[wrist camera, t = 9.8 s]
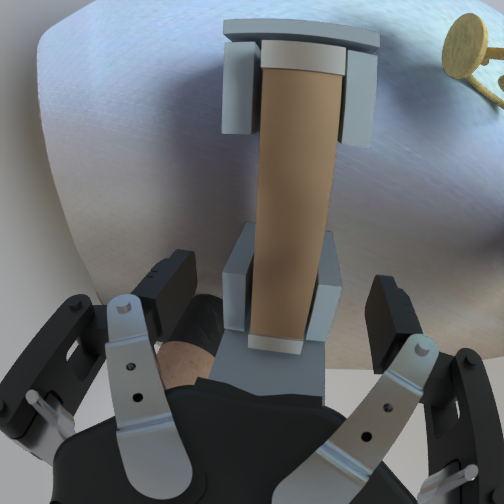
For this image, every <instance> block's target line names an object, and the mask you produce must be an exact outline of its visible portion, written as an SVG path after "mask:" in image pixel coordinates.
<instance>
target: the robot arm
mask: <svg viewBox="0 0 504 504" xmlns="http://www.w3.org/2000/svg"><path fill="white" fill-rule="evenodd" d="M196 288H197V273H196V262H195V254H194V252H193V251H187V250H180V249H177V250H176V251H175V252H174V253H173V254H172V255H171V257H170V258H169V259H166V258H165V259H164V260H162V261H160V262H158V263H157V264H156V265H155V266H154V267H153V268H152V269H151V272H149V273H148V274H147V275H146V277H144V278H143V280H142V281H141V282H140V283H139V284H138V285H137V287H136V288H135V289H134V290H133V291H132V293H131V294H123V295H119V296H117V297H115V298H113V299H112V300H111V301H110V302H109V303H108V305H92V302H91V300H90V298H89V297H88V296H87V295H84V294H78V295H74V296H72V297H70V298H68V299H67V300H66V301H65V302H64V303H63V304H62V305H61V306H60V307H59V308H58V309H57V311H56V312H55V313H54V314H53V315H52V316H51V318H50V319H49V320H48V321H47V322H46V323H45V325H44V326H43V327H42V328H41V329H40V331H39V332H38V333H37V334H36V336H35V337H34V338H33V339H32V341H31V342H30V343H29V345H28V346H27V347H26V348H25V350H24V351H23V352H22V354H21V355H20V356H19V358H18V359H17V360H16V362H15V363H14V365H13V366H12V367H11V369H10V370H9V372H8V373H7V374H6V376H5V377H4V379H3V380H2V382H1V383H0V430H1V431H2V432H3V433H4V434H5V435H6V436H7V437H8V438H9V439H11V440H12V441H13V442H15V443H16V444H17V445H19V446H20V447H21V448H23V449H24V450H25V451H28V452H30V453H31V454H33V455H34V456H36V457H37V458H38V459H41V460H44V461H45V462H47V463H48V464H50V465H51V466H52V467H53V492H52V498H51V501H50V504H504V439H503V433H502V428H501V423H500V419H499V414H498V411H497V407H496V402H495V399H494V395H493V392H492V388H491V385H490V382H489V379H488V376H487V373H486V370H485V367H484V364H483V361H482V359H481V357H480V356H479V355H478V354H477V353H476V352H475V351H474V350H472V349H469V348H462V349H460V350H459V351H458V352H457V354H456V355H455V356H452V355H448V354H445V353H442V352H439V349H438V346H437V344H436V343H435V342H434V340H432V339H431V338H430V337H428V336H426V335H424V334H423V332H422V329H421V326H420V323H419V321H418V318H417V315H416V313H415V310H414V308H413V306H412V303H411V300H410V298H409V296H408V295H407V294H406V293H405V292H404V291H403V289H399V288H398V287H397V285H396V282H395V280H394V278H393V277H392V276H385V275H376V276H375V278H374V281H373V284H372V287H371V290H370V293H369V296H368V299H367V302H366V306H365V320H366V325H367V331H368V337H369V343H370V349H371V356H372V363H373V370H374V374H383V375H382V376H381V378H380V379H379V380H378V382H377V383H376V384H375V386H374V387H373V388H372V389H371V391H370V392H369V393H368V395H367V396H366V397H365V399H364V400H363V401H362V402H361V403H360V404H359V406H358V407H357V408H356V409H355V411H354V412H353V413H352V414H351V415H350V416H349V417H348V418H347V419H346V418H345V417H344V416H343V415H341V414H340V413H339V412H337V411H335V410H333V409H331V408H329V407H326V406H323V405H322V398H323V396H312V395H301V394H292V393H291V394H280V395H266V396H258V395H254V394H252V393H249V392H247V391H244V390H242V389H239V388H237V387H235V386H232V385H230V384H228V383H224V382H219V381H215V380H210V379H206V378H201V377H197V379H196V382H195V384H194V385H182V386H176V387H173V388H169V389H167V387H166V384H165V382H164V378H163V375H162V372H161V369H160V366H159V362H158V359H157V356H156V352H155V349H154V344H155V343H156V341H160V342H164V343H167V341H168V339H169V337H170V335H171V334H172V332H173V330H174V328H175V327H176V325H177V323H178V321H179V320H180V318H181V316H182V314H183V313H184V311H185V309H186V307H187V306H188V304H189V302H190V300H191V299H192V297H193V295H194V294H195V291H196ZM75 340H77V342H78V344H79V345H78V346H77V348H76V349H75V351H74V352H73V353H72V355H71V357H70V358H69V359H68V361H67V360H66V356H67V352H68V350H69V349H70V347H71V346H72V344H73V343H74V342H75ZM105 360H107V368H108V376H109V383H110V389H111V396H112V402H113V407H114V412H115V416H113V417H111V418H109V419H107V420H105V421H103V422H101V423H99V424H96V425H95V426H92V427H90V428H88V429H85V430H83V431H81V432H79V433H76V434H75V430H74V427H75V423H74V418H73V417H74V415H75V413H76V411H77V409H78V407H79V405H80V403H81V402H82V400H83V398H84V396H85V395H86V393H87V391H88V389H89V387H90V386H91V384H92V382H93V380H94V379H95V377H96V375H97V373H98V371H99V370H100V368H101V367H102V365H103V363H104V362H105ZM456 401H458V405H459V410H460V417H459V419H458V414H457V408H456V403H455V402H456ZM418 403H422V404H424V412H425V420H426V431H427V444H428V462H429V463H428V465H429V477H428V478H427V479H426V480H425V481H424V483H423V484H422V486H421V489H420V492H419V494H418V496H417V499H418V500H416V499H415V497H414V496H413V495H412V494H411V493H410V492H409V491H408V489H407V488H406V487H405V486H404V485H403V484H402V483H401V482H400V480H399V479H398V478H397V477H396V476H395V475H394V473H393V472H392V471H391V470H390V469H389V468H388V466H387V465H386V464H385V463H384V462H383V461H382V459H383V458H384V456H385V455H386V454H387V452H388V451H389V449H390V448H391V446H392V445H393V444H394V442H395V441H396V439H397V438H398V436H399V434H400V433H401V431H402V430H403V428H404V427H405V425H406V423H407V422H408V420H409V418H410V417H411V415H412V413H413V411H414V410H415V408H416V406H417V404H418Z"/></svg>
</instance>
